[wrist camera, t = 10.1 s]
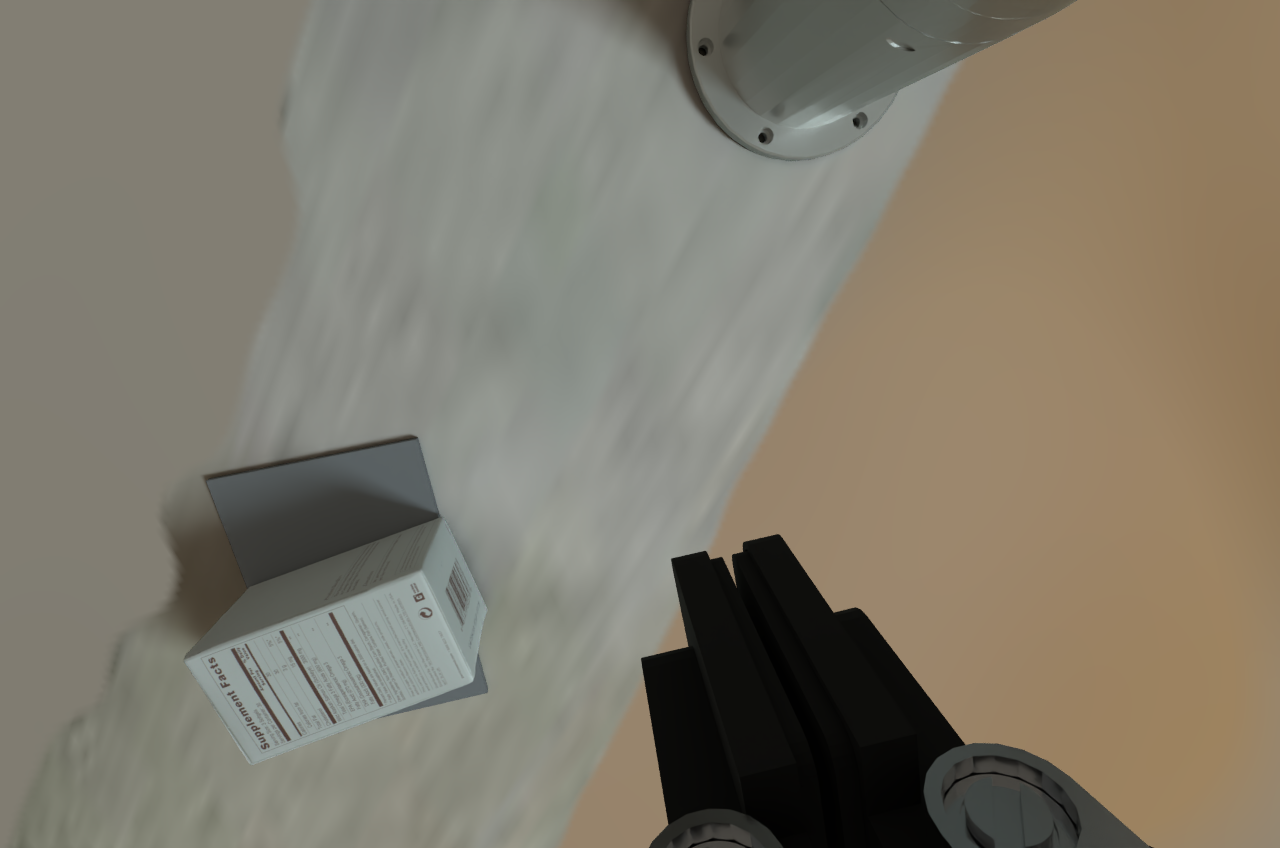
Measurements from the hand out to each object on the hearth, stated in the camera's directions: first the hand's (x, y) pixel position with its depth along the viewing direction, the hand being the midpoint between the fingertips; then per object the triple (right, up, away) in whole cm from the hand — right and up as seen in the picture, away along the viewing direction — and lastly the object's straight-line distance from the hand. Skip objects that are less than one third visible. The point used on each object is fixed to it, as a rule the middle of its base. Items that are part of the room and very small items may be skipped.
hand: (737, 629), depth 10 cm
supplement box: (-12, -6, +27) cm, 30 cm away
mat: (-19, -7, +30) cm, 36 cm away
